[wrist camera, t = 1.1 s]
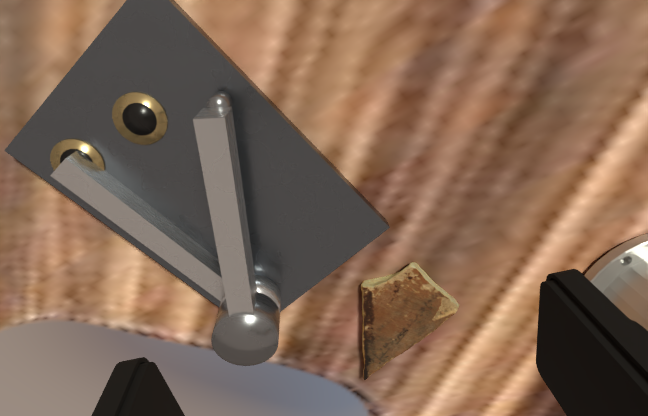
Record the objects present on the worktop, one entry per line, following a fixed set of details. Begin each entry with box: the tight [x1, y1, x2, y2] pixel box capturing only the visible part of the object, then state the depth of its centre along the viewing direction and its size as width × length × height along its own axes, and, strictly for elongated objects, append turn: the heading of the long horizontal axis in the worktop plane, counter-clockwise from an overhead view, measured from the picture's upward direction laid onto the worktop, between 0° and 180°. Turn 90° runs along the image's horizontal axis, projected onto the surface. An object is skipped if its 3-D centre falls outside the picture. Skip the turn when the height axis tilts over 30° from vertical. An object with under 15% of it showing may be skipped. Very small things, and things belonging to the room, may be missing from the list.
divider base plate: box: [5, 0, 390, 312], centre depth 27 cm, size 21×14×3 cm, turn 42°
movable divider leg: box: [193, 91, 280, 366], centre depth 26 cm, size 18×4×4 cm, turn 2°
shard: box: [361, 262, 459, 380], centre depth 34 cm, size 11×8×2 cm
